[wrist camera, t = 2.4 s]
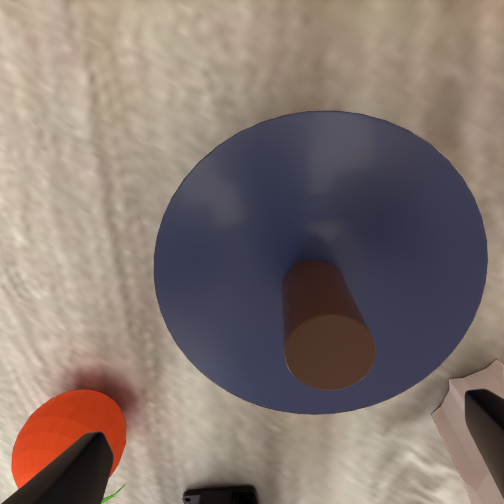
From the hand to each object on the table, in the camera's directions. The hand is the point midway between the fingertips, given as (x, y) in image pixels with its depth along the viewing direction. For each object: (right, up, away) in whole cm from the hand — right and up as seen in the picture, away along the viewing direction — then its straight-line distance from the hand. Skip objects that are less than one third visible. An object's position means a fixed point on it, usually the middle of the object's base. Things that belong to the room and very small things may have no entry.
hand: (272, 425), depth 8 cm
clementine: (-12, -8, +18) cm, 23 cm away
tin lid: (+2, +3, +6) cm, 7 cm away
